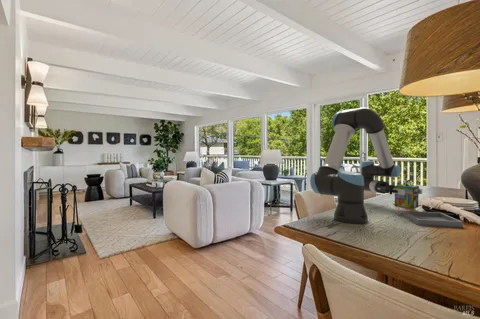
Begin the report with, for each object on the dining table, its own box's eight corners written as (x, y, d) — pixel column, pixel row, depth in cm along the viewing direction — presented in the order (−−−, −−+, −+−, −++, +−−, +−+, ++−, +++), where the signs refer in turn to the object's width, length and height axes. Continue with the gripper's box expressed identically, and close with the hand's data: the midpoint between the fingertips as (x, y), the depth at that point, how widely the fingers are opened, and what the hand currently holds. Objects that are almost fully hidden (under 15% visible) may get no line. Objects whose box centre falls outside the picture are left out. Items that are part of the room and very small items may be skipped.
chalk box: (399, 204, 142) (400, 178, 141) (418, 206, 134) (419, 179, 134) (393, 206, 136) (394, 179, 135) (413, 209, 129) (413, 180, 128)
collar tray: (417, 225, 111) (417, 219, 111) (402, 215, 128) (402, 210, 128) (462, 227, 107) (462, 221, 107) (441, 217, 124) (441, 212, 124)
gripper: (394, 192, 155) (429, 198, 135) (363, 193, 149) (395, 200, 128) (394, 180, 155) (430, 184, 134) (363, 181, 149) (395, 185, 128)
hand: (413, 192), depth 131 cm, fingers closed on chalk box, 11 cm apart
